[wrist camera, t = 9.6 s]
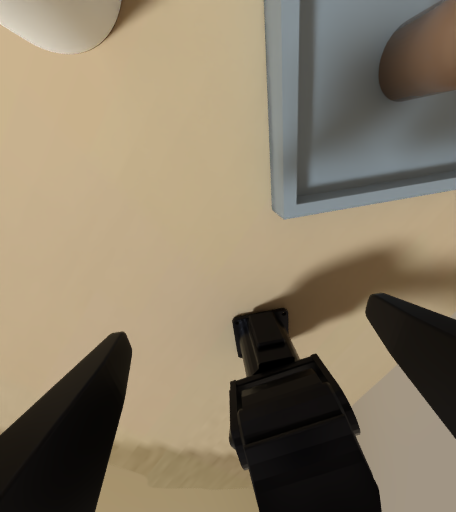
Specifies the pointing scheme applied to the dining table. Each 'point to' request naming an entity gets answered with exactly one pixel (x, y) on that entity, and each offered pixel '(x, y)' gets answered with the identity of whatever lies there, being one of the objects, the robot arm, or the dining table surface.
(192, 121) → the dining table surface
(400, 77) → the shaker
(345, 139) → the tray
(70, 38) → the cup
